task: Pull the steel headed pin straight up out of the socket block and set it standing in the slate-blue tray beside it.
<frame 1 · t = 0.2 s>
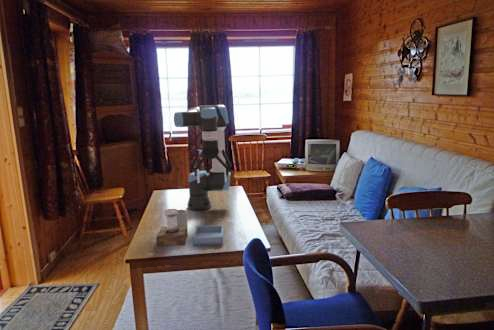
hand: (212, 182, 180), 28 cm above the table, tool pointing down, fingers open, 13 cm apart
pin: (172, 225, 179), in the socket block
socket block: (173, 240, 180), on the table
cup: (178, 228, 198), on the table
tray: (209, 238, 181), on the table
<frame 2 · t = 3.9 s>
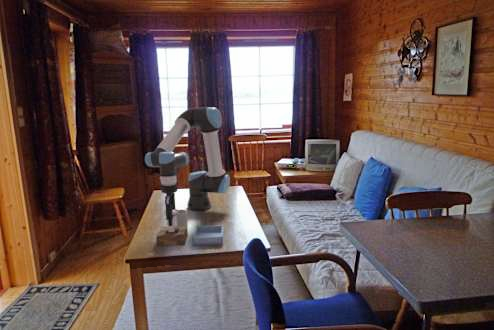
hand: (172, 229, 179), 6 cm above the table, tool pointing down, fingers closed on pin, 5 cm apart
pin: (172, 225, 179), in the socket block, touching gripper
everything else where it was.
when the fingers open (8 cm above the table, at t = 12.3 s): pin stays where it is, resting on tray.
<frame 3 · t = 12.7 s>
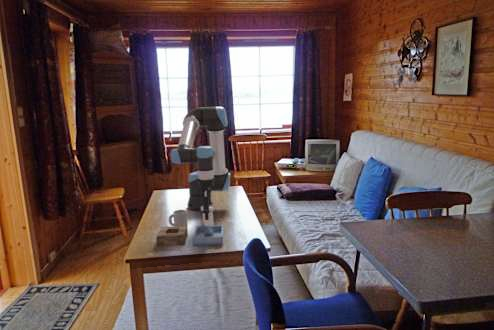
hand: (208, 221, 179), 9 cm above the table, tool pointing down, fingers open, 11 cm apart
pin: (208, 221, 179), in the tray, point 9 cm above the table
everything else where it was.
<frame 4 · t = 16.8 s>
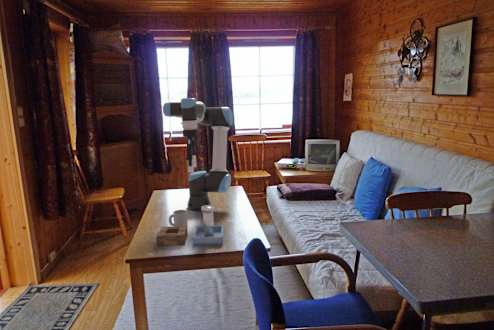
hand: (192, 169, 188), 33 cm above the table, tool pointing down, fingers open, 13 cm apart
nothing on the table moved.
at the end: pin inside the target area on the tray (0.1 cm from its centre), point 8.9 cm above the tray's base; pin tilted 0°; the gripper is holding nothing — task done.
